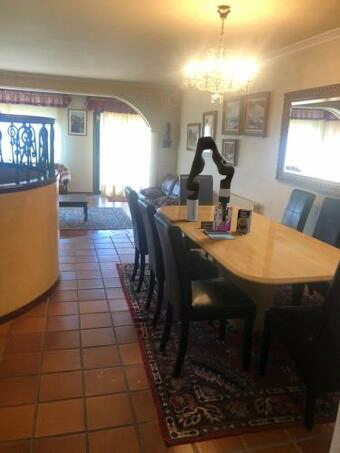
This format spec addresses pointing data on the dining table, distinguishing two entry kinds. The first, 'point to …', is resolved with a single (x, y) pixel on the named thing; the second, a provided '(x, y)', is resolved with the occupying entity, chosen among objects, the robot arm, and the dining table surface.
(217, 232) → the tray
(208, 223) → the walled channel
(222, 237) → the pad
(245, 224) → the coffee box
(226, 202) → the robot arm
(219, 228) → the candy bar box
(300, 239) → the dining table surface
